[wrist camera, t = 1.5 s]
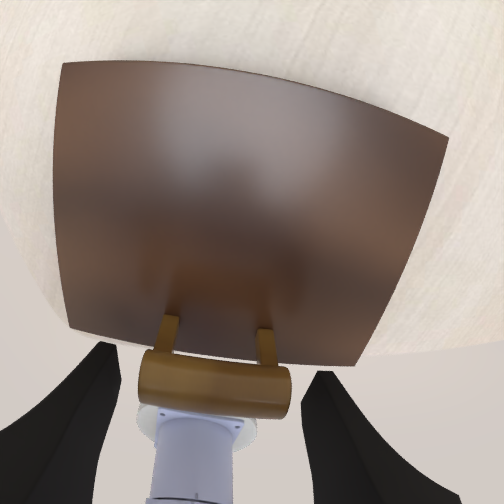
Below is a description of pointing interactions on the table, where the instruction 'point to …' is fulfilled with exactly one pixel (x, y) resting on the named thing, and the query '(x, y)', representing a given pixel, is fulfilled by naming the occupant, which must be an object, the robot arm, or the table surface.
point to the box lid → (231, 223)
